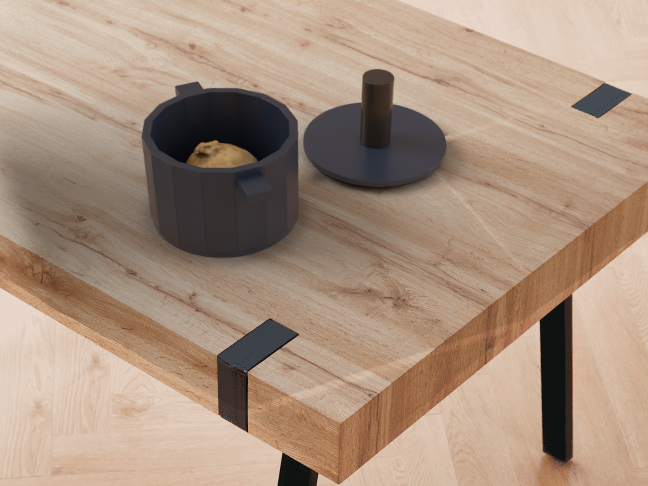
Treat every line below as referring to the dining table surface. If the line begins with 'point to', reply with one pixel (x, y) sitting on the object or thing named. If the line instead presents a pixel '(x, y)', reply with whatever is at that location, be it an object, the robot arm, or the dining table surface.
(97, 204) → the dining table surface
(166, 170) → the pot
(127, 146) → the dining table surface
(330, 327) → the dining table surface
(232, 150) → the onion
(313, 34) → the dining table surface
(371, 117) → the lid
